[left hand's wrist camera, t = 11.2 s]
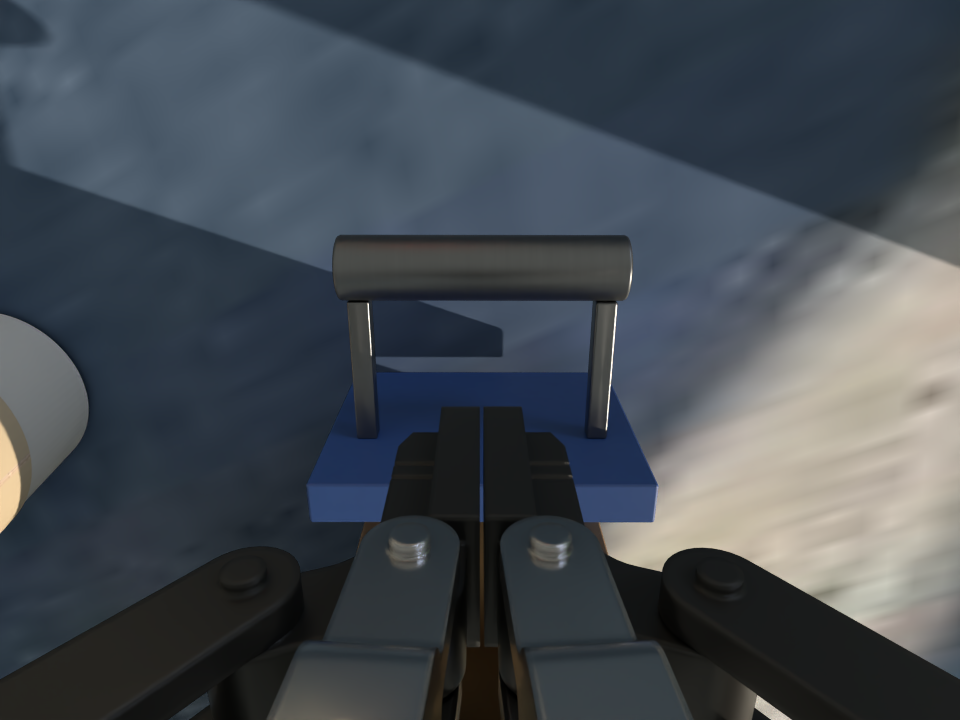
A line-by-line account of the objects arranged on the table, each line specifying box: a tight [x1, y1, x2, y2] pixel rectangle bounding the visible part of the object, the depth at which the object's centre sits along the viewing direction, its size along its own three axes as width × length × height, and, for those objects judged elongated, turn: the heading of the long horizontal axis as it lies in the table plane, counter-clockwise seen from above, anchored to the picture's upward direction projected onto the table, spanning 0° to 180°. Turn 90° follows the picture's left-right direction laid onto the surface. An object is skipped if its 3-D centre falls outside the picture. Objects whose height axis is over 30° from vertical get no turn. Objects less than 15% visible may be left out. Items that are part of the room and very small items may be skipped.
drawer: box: [306, 235, 658, 720], centre depth 23 cm, size 25×9×8 cm, turn 0°
